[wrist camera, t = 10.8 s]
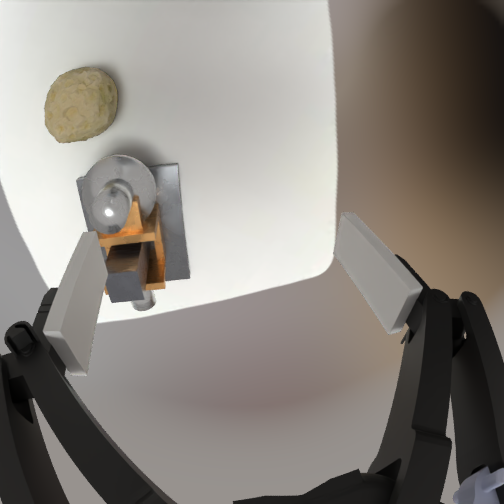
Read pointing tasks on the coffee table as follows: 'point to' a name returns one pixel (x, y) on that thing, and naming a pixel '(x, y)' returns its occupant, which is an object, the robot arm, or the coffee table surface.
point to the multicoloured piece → (138, 215)
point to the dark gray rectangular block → (127, 271)
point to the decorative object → (80, 105)
